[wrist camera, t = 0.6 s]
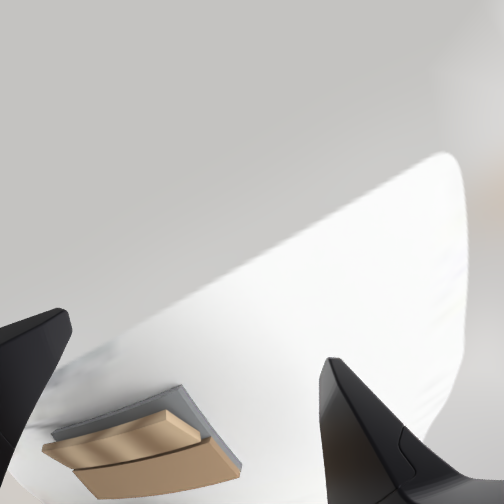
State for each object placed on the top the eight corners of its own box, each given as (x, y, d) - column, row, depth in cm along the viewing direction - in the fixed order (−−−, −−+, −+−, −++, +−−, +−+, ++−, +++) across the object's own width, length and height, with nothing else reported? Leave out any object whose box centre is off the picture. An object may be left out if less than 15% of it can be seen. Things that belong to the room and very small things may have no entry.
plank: (165, 409, 18) (166, 419, 17) (199, 431, 20) (201, 441, 19) (43, 444, 18) (41, 451, 17) (72, 462, 20) (71, 469, 19)
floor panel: (181, 384, 22) (174, 395, 19) (242, 464, 21) (239, 478, 19) (56, 429, 22) (46, 437, 20) (105, 490, 21) (98, 499, 19)
